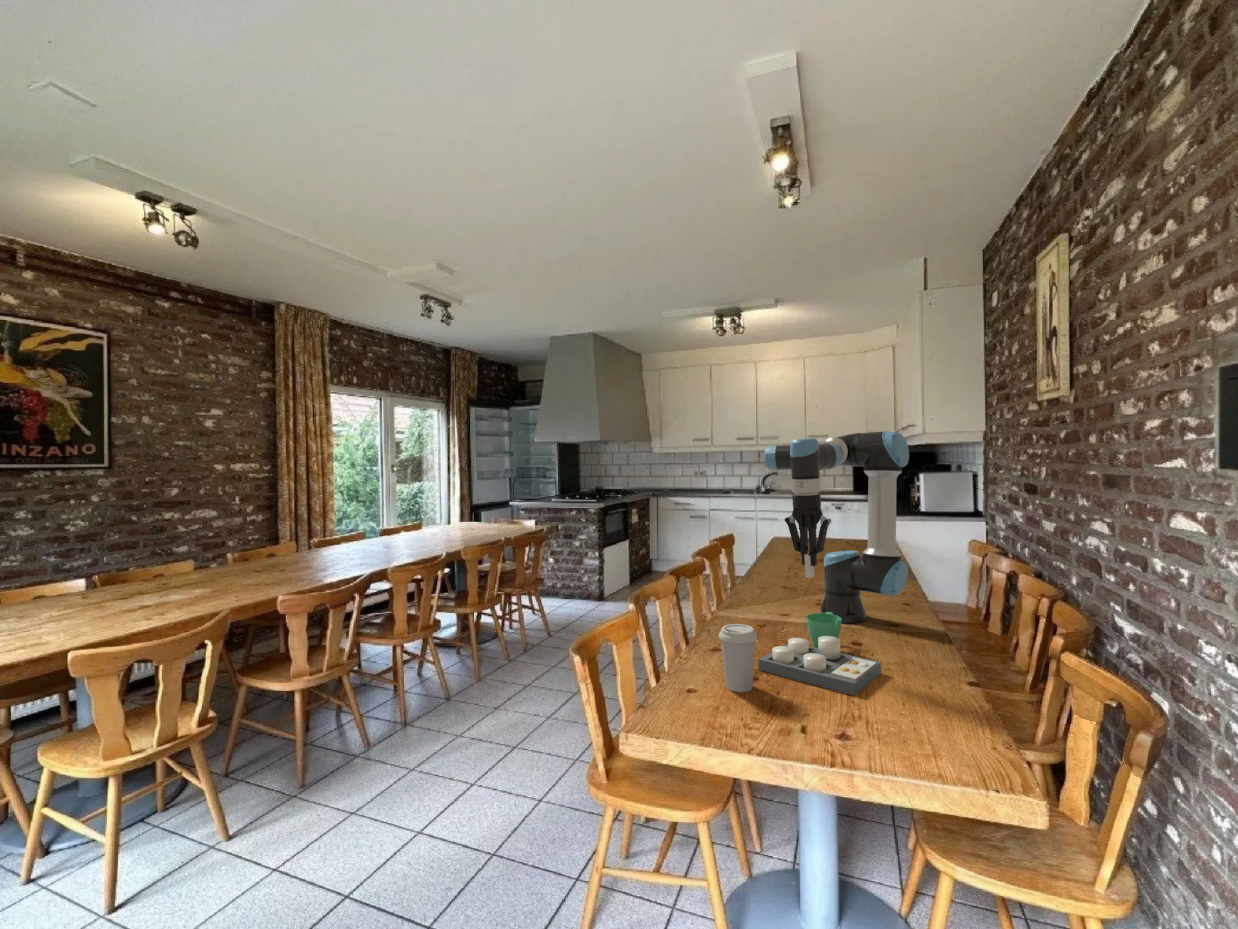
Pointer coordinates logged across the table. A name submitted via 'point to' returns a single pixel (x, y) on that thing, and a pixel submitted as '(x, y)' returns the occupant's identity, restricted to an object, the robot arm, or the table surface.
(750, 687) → the coffee cup
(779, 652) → the button
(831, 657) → the button
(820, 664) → the button
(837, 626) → the mug
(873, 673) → the board
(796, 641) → the button
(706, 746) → the table surface
